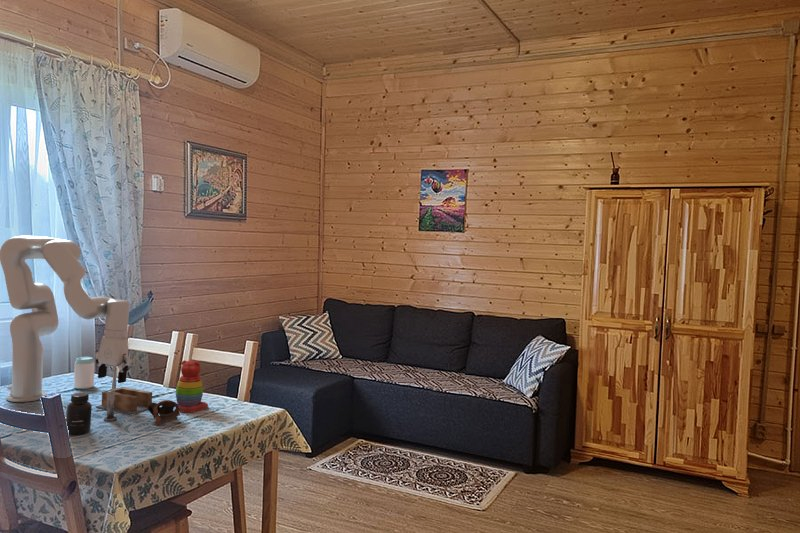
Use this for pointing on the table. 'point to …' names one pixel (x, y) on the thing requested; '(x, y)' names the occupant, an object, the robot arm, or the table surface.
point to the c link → (128, 398)
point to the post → (110, 406)
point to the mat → (139, 409)
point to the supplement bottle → (79, 414)
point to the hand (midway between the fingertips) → (111, 379)
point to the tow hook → (114, 378)
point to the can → (84, 373)
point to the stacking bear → (190, 388)
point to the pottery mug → (164, 411)
